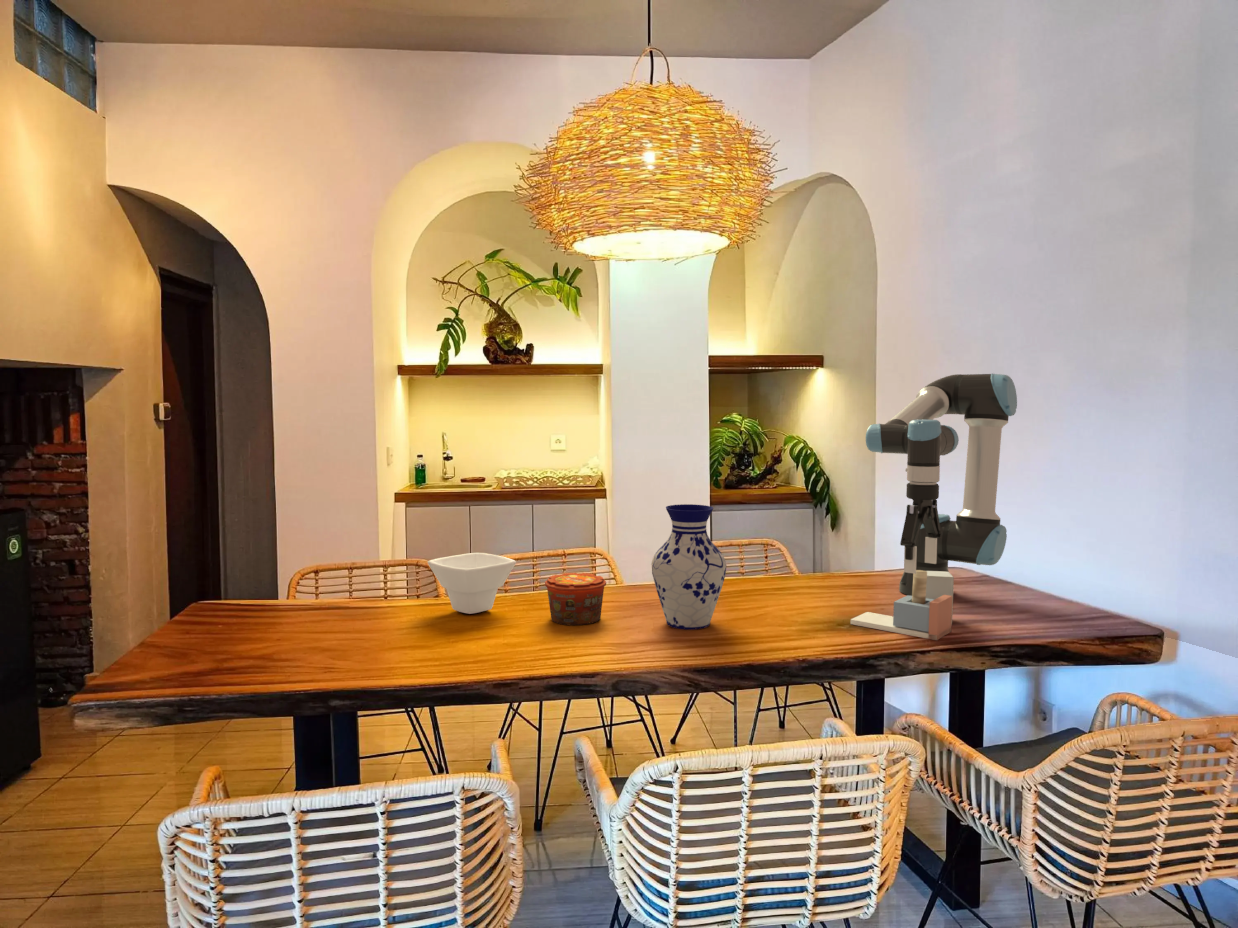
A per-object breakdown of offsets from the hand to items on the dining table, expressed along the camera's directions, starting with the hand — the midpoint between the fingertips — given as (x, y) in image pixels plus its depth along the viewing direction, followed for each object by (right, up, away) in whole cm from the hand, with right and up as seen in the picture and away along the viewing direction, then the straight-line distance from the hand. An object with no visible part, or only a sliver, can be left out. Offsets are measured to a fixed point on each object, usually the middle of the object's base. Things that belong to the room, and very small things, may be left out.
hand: (920, 567), depth 213 cm
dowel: (0, -13, +1) cm, 13 cm away
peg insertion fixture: (-4, -16, +4) cm, 17 cm away
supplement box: (+7, -15, +10) cm, 20 cm away
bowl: (-114, -14, +18) cm, 116 cm away
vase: (-57, -15, +7) cm, 59 cm away
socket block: (0, -14, +1) cm, 14 cm away
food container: (-86, -15, +11) cm, 88 cm away
